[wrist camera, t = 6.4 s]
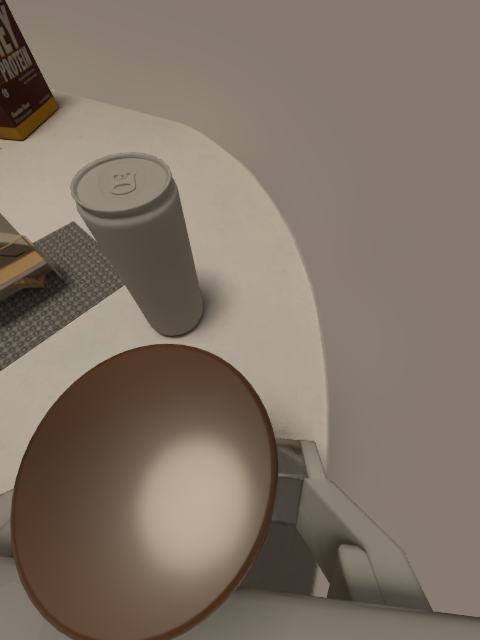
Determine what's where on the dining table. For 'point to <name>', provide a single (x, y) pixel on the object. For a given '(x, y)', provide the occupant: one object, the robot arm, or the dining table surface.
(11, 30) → the supplement box
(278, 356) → the dining table surface
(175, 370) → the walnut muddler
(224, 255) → the dining table surface
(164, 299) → the beverage can
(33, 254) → the napkin holder
